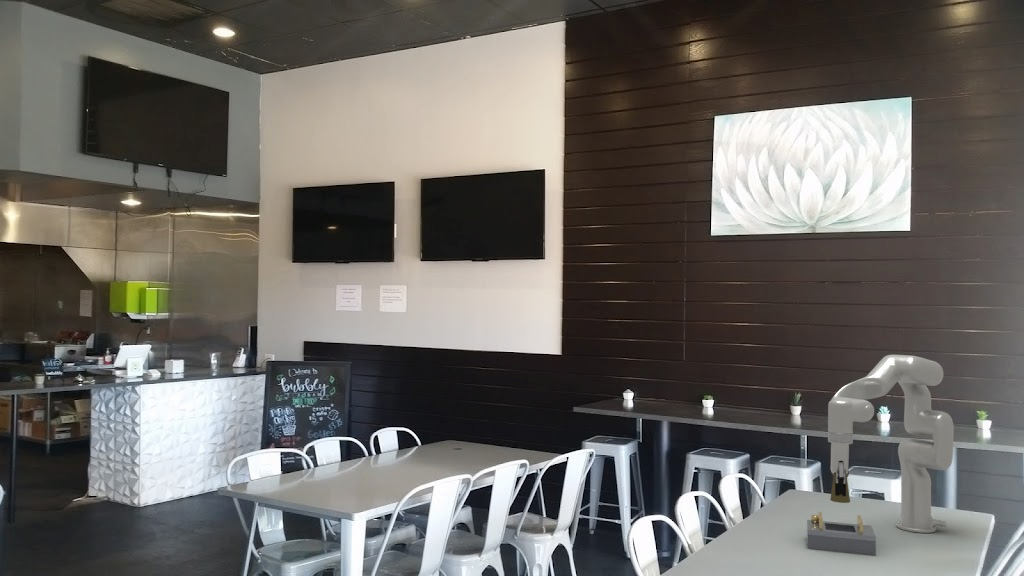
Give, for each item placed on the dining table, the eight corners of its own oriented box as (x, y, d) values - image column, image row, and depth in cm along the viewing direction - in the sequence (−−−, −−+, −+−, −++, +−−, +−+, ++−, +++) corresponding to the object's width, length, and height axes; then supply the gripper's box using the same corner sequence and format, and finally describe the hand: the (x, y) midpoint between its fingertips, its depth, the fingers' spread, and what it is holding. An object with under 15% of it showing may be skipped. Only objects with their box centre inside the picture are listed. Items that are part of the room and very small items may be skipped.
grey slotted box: (871, 544, 265) (871, 514, 265) (875, 555, 252) (875, 525, 252) (806, 537, 271) (807, 509, 272) (807, 548, 258) (807, 518, 258)
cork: (848, 499, 264) (848, 465, 265) (852, 503, 258) (852, 469, 259) (828, 498, 266) (828, 464, 266) (832, 502, 260) (832, 467, 260)
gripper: (826, 433, 272) (826, 488, 271) (829, 440, 256) (828, 498, 255) (850, 435, 269) (850, 490, 269) (854, 442, 254) (854, 500, 253)
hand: (840, 493), depth 262 cm, fingers closed on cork, 4 cm apart
